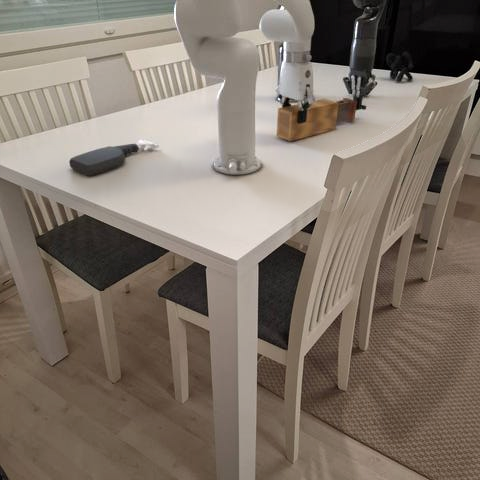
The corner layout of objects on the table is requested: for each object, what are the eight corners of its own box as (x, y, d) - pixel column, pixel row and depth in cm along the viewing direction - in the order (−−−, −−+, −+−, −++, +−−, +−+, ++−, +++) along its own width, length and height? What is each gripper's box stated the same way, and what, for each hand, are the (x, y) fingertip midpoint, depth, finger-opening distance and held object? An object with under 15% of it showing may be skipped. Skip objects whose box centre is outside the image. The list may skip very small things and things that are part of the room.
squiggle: (400, 92, 202) (376, 71, 205) (417, 76, 202) (392, 56, 205) (405, 81, 191) (380, 59, 194) (423, 64, 191) (397, 42, 194)
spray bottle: (67, 168, 120) (139, 144, 136) (91, 178, 114) (163, 151, 130) (65, 157, 118) (137, 134, 134) (89, 167, 112) (162, 142, 128)
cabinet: (321, 124, 148) (324, 98, 144) (335, 129, 144) (338, 102, 140) (276, 136, 138) (277, 108, 133) (290, 141, 134) (292, 112, 129)
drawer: (354, 114, 156) (357, 95, 152) (365, 118, 152) (368, 98, 149) (303, 127, 143) (305, 106, 139) (314, 131, 139) (316, 109, 136)
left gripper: (328, 59, 122) (323, 124, 131) (285, 51, 133) (283, 111, 143) (309, 63, 118) (305, 129, 127) (266, 54, 129) (265, 116, 139)
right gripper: (387, 54, 139) (379, 110, 148) (354, 49, 148) (348, 102, 157) (372, 57, 135) (365, 114, 144) (339, 52, 144) (334, 106, 153)
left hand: (293, 119), depth 135 cm, fingers closed on cabinet, 6 cm apart
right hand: (356, 108), depth 151 cm, fingers closed
